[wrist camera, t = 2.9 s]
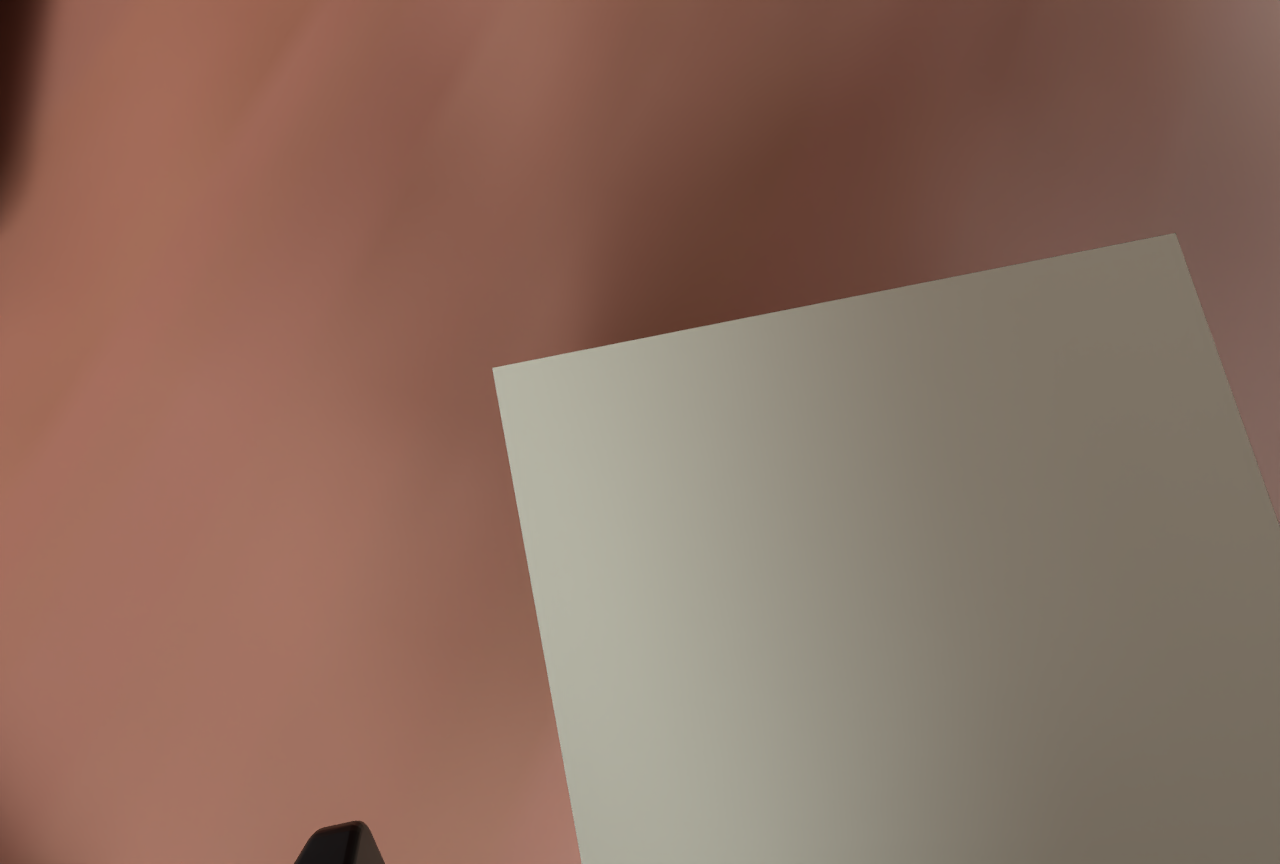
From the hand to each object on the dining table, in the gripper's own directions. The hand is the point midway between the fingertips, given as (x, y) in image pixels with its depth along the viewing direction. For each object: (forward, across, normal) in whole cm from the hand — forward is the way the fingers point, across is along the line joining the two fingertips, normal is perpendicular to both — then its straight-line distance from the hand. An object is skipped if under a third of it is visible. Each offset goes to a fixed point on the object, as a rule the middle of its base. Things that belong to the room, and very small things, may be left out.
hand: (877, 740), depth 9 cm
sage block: (+6, 0, +6) cm, 8 cm away
